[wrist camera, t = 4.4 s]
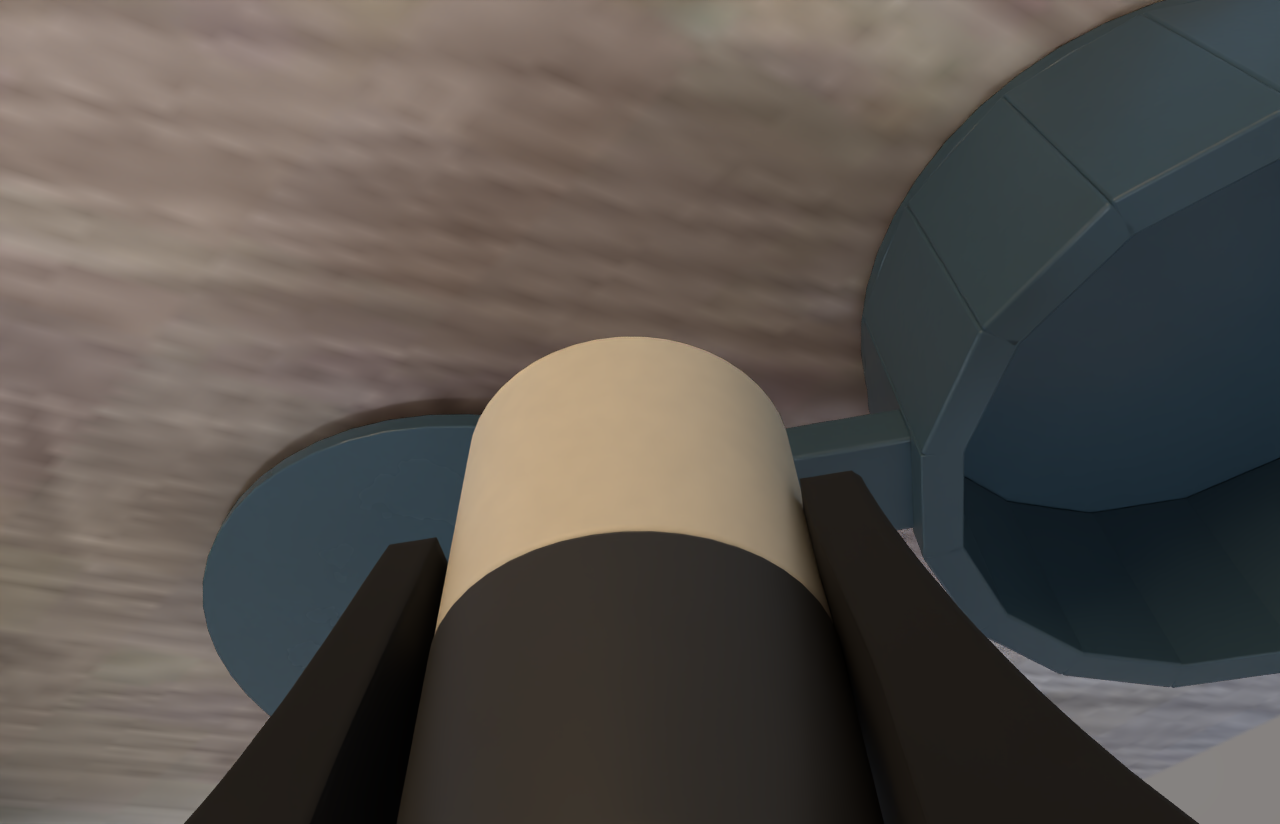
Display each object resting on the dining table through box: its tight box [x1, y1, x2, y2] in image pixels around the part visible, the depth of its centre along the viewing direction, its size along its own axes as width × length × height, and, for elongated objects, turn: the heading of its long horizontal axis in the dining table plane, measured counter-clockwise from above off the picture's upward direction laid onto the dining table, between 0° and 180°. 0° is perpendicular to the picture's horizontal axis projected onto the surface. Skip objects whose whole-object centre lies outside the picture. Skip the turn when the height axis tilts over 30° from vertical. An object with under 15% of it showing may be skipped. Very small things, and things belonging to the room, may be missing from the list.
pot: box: [786, 0, 1280, 688], centre depth 20 cm, size 14×19×6 cm
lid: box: [203, 414, 481, 716], centre depth 25 cm, size 15×15×5 cm
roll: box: [397, 337, 884, 824], centre depth 10 cm, size 4×4×8 cm
